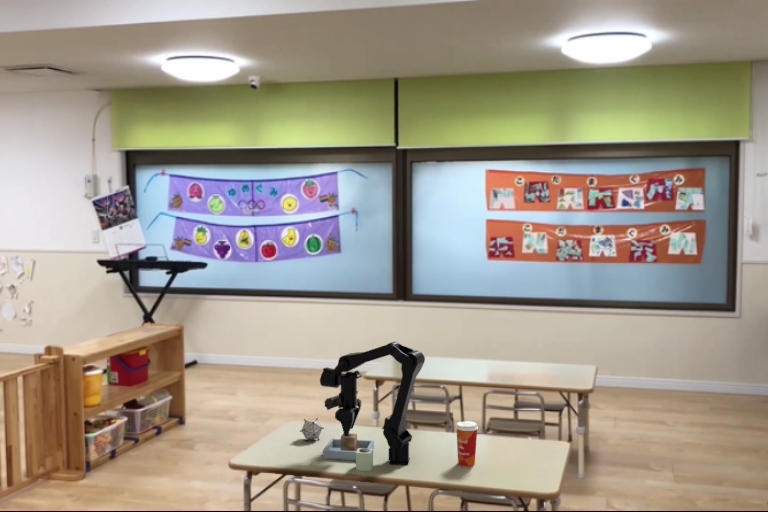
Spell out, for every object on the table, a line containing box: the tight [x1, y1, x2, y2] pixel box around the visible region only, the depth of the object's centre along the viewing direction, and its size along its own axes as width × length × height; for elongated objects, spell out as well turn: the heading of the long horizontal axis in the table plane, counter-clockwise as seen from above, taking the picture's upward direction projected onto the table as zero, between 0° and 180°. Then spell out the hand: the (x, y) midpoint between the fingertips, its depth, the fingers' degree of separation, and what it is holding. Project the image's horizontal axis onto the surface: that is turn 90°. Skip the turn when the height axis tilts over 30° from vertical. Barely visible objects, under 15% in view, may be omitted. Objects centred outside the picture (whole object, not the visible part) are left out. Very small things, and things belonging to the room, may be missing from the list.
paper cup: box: [455, 420, 479, 468], centre depth 260 cm, size 8×8×14 cm
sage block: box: [355, 448, 374, 472], centre depth 256 cm, size 5×5×6 cm
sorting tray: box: [322, 438, 375, 462], centre depth 271 cm, size 16×14×3 cm
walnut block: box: [340, 432, 358, 451], centre depth 271 cm, size 5×5×6 cm
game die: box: [299, 417, 325, 442], centre depth 287 cm, size 9×8×10 cm
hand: (348, 432), depth 271 cm, fingers open, 9 cm apart
